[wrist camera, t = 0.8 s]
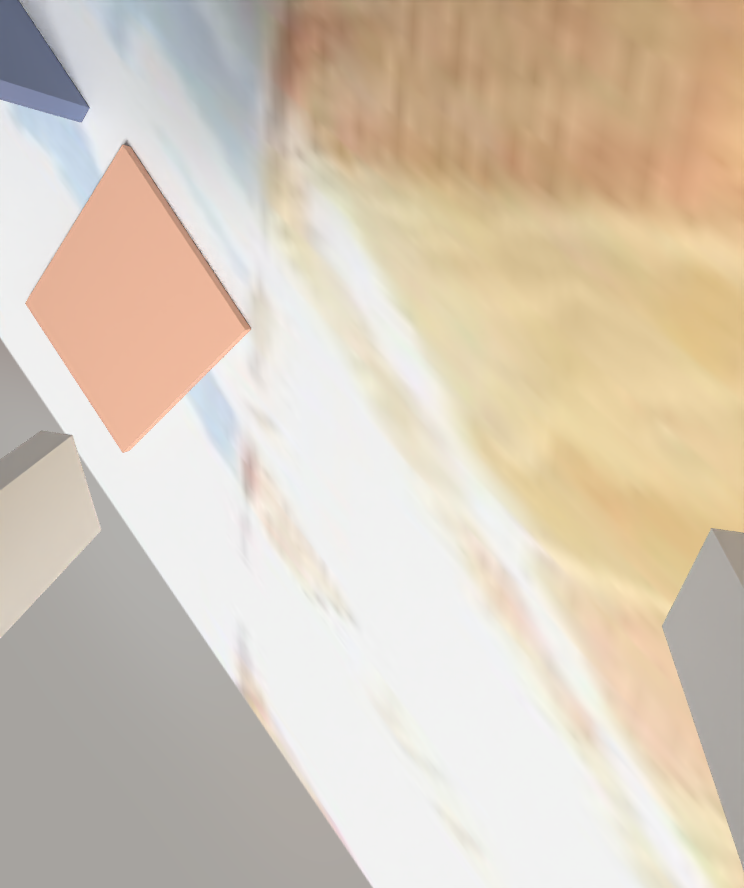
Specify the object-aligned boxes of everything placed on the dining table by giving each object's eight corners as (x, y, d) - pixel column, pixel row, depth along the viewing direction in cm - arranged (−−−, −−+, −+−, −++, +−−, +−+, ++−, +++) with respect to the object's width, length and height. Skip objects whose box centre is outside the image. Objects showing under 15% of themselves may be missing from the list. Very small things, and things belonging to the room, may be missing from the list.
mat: (130, 146, 34) (122, 144, 33) (251, 328, 33) (245, 329, 33) (32, 302, 42) (25, 303, 41) (129, 450, 42) (122, 452, 41)
